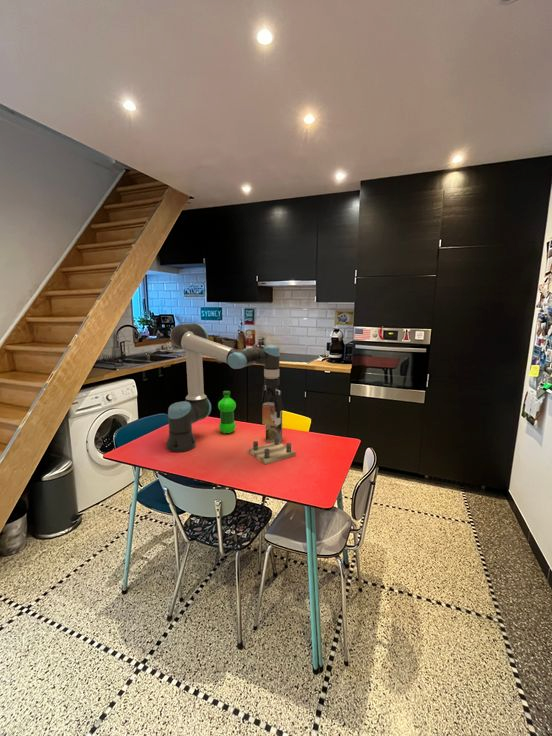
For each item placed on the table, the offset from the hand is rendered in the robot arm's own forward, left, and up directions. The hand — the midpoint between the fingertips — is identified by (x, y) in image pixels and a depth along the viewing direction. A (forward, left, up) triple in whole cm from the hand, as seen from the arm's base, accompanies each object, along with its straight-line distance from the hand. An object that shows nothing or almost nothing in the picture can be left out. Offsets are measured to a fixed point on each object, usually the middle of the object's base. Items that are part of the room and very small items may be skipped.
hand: (271, 420), depth 168 cm
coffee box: (-15, +11, -18) cm, 26 cm away
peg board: (0, 0, -18) cm, 18 cm away
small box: (0, 0, -2) cm, 2 cm away
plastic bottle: (-40, -6, -18) cm, 44 cm away
